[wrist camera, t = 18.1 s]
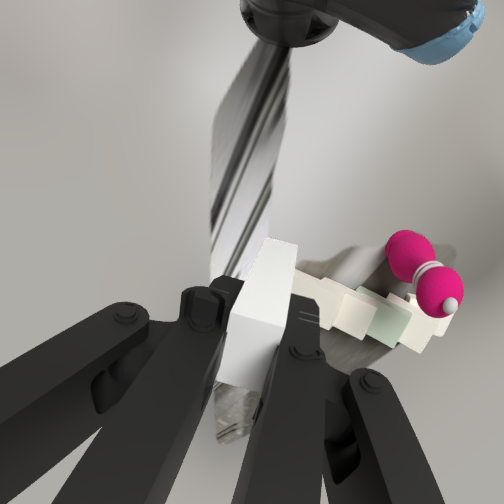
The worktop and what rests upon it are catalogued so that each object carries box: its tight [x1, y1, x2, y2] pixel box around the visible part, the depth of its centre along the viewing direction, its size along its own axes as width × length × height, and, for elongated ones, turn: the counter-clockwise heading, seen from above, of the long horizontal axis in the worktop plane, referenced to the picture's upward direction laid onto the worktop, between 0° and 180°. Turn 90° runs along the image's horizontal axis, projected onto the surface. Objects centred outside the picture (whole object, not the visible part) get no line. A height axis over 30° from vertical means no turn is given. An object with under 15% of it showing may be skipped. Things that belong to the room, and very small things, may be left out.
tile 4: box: [386, 293, 439, 354], centre depth 45 cm, size 6×2×10 cm
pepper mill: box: [386, 230, 464, 318], centre depth 35 cm, size 7×7×20 cm
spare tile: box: [356, 285, 413, 349], centre depth 45 cm, size 6×2×10 cm
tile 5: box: [405, 293, 454, 337], centre depth 47 cm, size 6×2×10 cm
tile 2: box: [321, 277, 380, 340], centre depth 46 cm, size 6×2×10 cm
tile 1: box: [291, 269, 346, 330], centre depth 47 cm, size 6×2×10 cm
